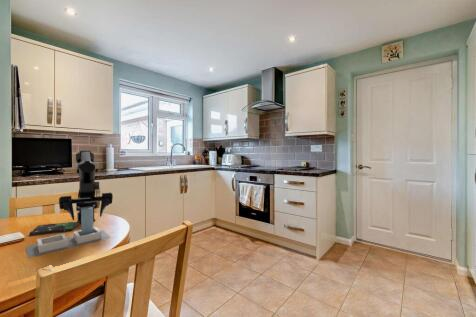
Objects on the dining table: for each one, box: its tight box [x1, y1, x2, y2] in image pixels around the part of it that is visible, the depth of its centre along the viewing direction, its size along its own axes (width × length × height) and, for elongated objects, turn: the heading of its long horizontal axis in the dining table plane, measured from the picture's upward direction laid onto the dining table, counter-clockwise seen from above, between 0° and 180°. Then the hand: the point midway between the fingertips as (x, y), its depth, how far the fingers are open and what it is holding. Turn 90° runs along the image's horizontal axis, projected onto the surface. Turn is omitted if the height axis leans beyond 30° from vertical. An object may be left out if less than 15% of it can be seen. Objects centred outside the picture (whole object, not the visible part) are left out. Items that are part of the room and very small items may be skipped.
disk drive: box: [28, 221, 79, 236], centre depth 100 cm, size 10×3×15 cm
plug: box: [80, 207, 94, 235], centre depth 91 cm, size 4×4×12 cm
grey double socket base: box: [25, 226, 112, 259], centre depth 87 cm, size 25×12×4 cm, turn 136°
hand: (87, 217), depth 92 cm, fingers open, 9 cm apart
